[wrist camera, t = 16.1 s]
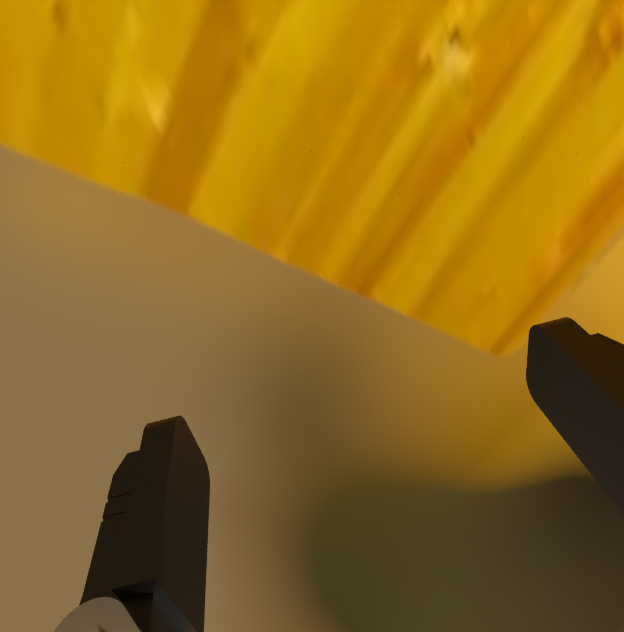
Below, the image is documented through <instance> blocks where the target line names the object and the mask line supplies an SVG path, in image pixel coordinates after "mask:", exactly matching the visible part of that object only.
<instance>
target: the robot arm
mask: <svg viewBox="0 0 624 632" xmlns="http://www.w3.org/2000/svg"><path fill="white" fill-rule="evenodd" d="M526 380H527V385H528V389H529V391H530V394H531V396H532V398H533V400H534V401H535V403H536V404H537V405H538V407H539V408H540V409H541V411H542V412H543V413H544V414H545V416H546V417H547V418H548V419H549V421H550V422H551V423H552V425H553V426H554V427H555V428H556V430H557V431H558V432H559V434H560V435H561V436H562V437H563V439H564V440H565V441H566V443H567V444H568V445H569V446H570V448H571V449H572V450H573V452H574V453H575V454H576V455H577V457H578V458H579V459H580V461H581V462H582V463H583V464H584V465H585V467H586V468H587V469H588V471H589V472H590V473H591V475H592V476H593V477H594V478H595V480H596V481H597V482H598V483H599V485H600V486H601V487H602V489H603V490H604V491H605V492H606V494H607V495H608V496H609V497H610V499H611V500H612V502H613V503H614V504H615V505H616V507H617V508H618V509H619V511H620V512H621V513H622V514H623V515H624V345H623V344H621V343H619V342H617V341H615V340H612V339H610V338H608V337H606V336H604V335H601V334H599V333H597V334H594V335H589V334H588V333H587V332H586V331H585V330H584V329H583V328H582V327H581V326H579V325H578V324H577V323H576V322H575V321H574V320H572V319H571V318H568V317H565V318H561V319H557V320H553V321H549V322H545V323H541V324H537V325H534V326H532V327H531V329H530V331H529V341H528V355H527V369H526ZM209 497H210V477H209V471H208V467H207V463H206V460H205V458H204V456H203V454H202V452H201V450H200V448H199V446H198V444H197V442H196V440H195V438H194V436H193V434H192V432H191V431H190V429H189V427H188V425H187V423H186V421H185V419H184V418H183V417H182V416H176V417H172V418H168V419H164V420H160V421H156V422H152V423H148V424H147V425H146V426H145V428H144V431H143V436H142V441H141V446H140V450H139V451H135V452H131V453H128V454H127V455H126V456H125V458H124V459H123V461H122V462H121V464H120V465H119V467H118V469H117V470H116V472H115V473H114V475H113V478H112V482H111V486H110V490H109V494H108V497H107V498H108V502H107V503H106V506H105V509H104V513H103V522H101V525H100V529H99V533H98V537H97V541H96V545H95V549H94V553H93V557H92V561H91V565H90V568H89V572H88V576H87V580H86V584H85V588H84V592H83V596H82V599H81V602H80V604H79V606H78V607H77V608H75V609H74V610H73V611H72V612H70V613H69V614H68V615H67V616H66V617H65V618H64V619H63V620H62V621H61V623H60V624H59V625H58V626H57V627H56V629H55V631H54V632H204V612H205V590H206V566H207V544H208V520H209Z"/></svg>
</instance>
